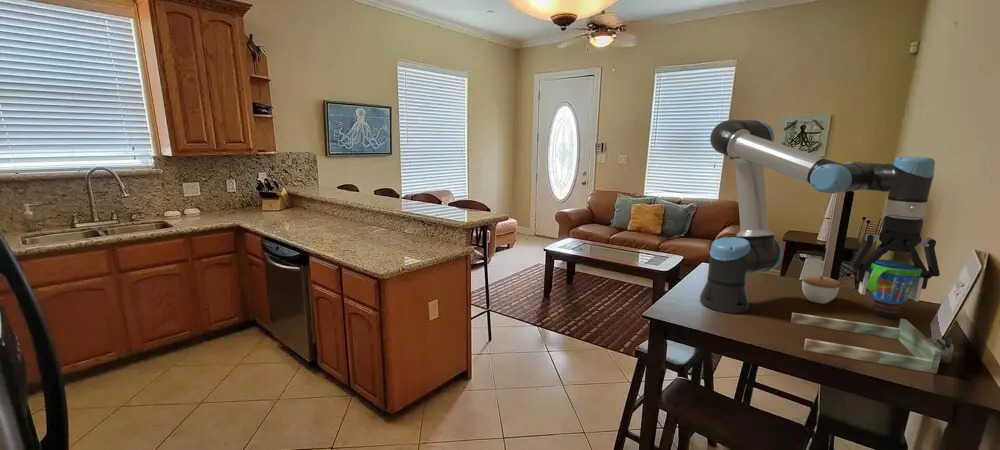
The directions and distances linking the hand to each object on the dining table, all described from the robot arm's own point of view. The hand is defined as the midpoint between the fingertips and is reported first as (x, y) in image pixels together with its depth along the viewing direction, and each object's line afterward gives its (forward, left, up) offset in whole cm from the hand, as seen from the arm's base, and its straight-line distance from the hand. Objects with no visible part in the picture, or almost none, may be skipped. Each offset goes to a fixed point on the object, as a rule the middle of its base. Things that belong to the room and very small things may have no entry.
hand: (887, 296), depth 113 cm
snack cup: (0, 0, -1) cm, 1 cm away
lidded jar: (-7, +35, -16) cm, 39 cm away
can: (+10, +29, -16) cm, 35 cm away
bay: (-6, 0, -15) cm, 16 cm away
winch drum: (+12, 0, -15) cm, 20 cm away
